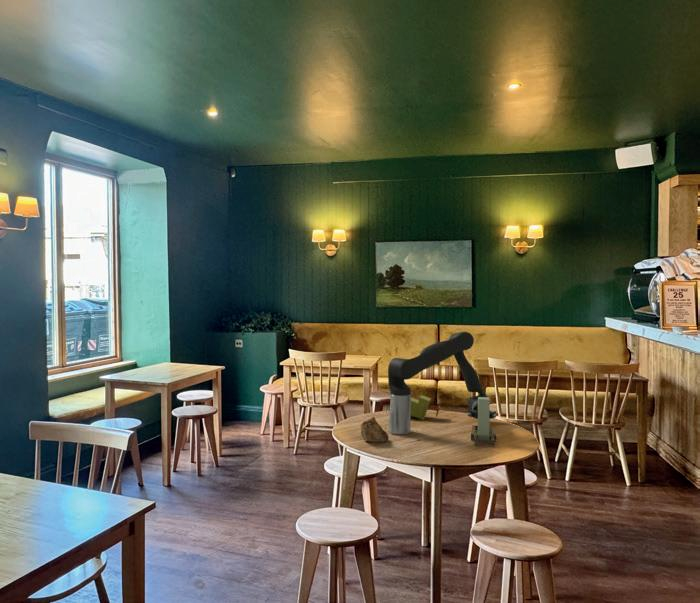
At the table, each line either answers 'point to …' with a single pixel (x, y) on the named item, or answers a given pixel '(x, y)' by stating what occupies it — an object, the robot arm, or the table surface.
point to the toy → (421, 407)
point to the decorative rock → (373, 431)
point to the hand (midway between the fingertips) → (483, 418)
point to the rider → (483, 418)
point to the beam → (483, 442)
